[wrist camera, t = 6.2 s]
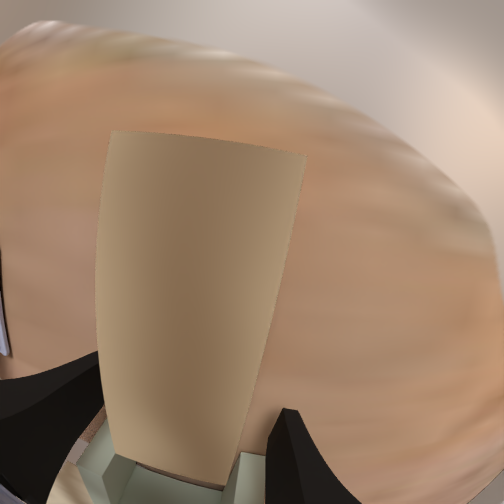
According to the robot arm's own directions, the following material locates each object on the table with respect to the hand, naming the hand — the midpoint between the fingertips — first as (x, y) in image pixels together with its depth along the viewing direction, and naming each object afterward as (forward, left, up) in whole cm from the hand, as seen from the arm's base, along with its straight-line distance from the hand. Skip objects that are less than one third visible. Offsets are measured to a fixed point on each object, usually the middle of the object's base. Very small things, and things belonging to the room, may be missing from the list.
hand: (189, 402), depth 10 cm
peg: (0, +4, -2) cm, 5 cm away
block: (0, -8, -2) cm, 8 cm away
